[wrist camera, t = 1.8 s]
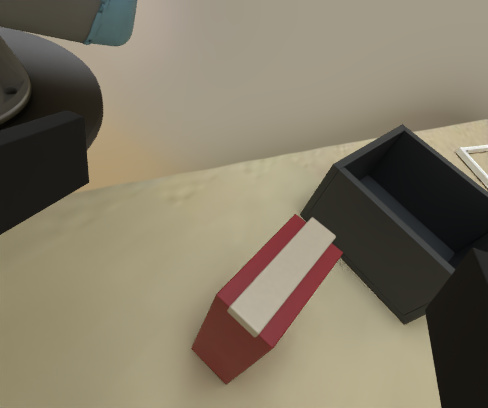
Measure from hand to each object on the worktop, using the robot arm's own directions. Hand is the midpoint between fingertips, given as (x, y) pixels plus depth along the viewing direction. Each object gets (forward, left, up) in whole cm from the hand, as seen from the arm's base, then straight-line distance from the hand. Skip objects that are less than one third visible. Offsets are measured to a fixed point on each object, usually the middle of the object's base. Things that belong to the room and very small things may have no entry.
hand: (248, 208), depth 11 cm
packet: (+1, +5, -21) cm, 21 cm away
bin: (+3, +26, -21) cm, 33 cm away
